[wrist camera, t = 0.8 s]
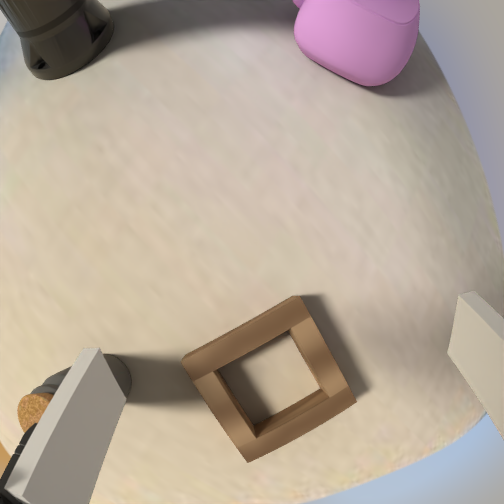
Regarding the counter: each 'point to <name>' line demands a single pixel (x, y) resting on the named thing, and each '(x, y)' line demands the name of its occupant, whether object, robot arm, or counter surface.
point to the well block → (290, 419)
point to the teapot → (358, 36)
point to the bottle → (42, 395)
